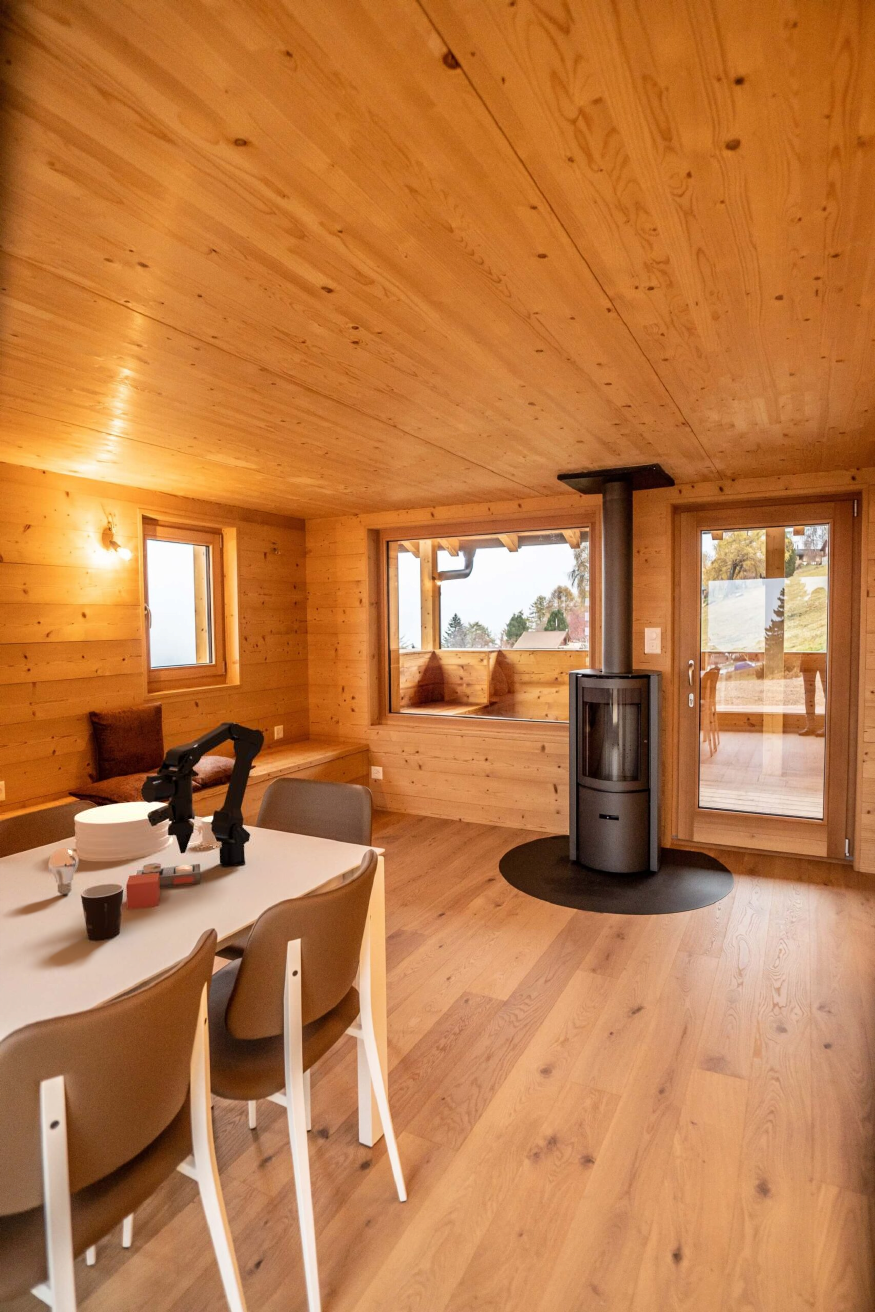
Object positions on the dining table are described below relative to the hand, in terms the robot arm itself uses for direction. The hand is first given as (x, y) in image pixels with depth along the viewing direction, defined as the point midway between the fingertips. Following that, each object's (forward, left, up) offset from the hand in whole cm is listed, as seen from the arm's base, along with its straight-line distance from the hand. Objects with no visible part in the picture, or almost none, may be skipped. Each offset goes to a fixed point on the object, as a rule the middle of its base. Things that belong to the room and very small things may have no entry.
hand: (182, 853), depth 197 cm
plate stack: (+19, -41, -8) cm, 46 cm away
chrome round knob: (+8, 0, -5) cm, 9 cm away
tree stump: (-8, -36, -8) cm, 37 cm away
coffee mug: (+16, +33, -8) cm, 38 cm away
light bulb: (+29, 0, -8) cm, 30 cm away
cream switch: (0, 0, -6) cm, 6 cm away
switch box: (+4, 0, -8) cm, 8 cm away
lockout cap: (+9, +13, -8) cm, 18 cm away
